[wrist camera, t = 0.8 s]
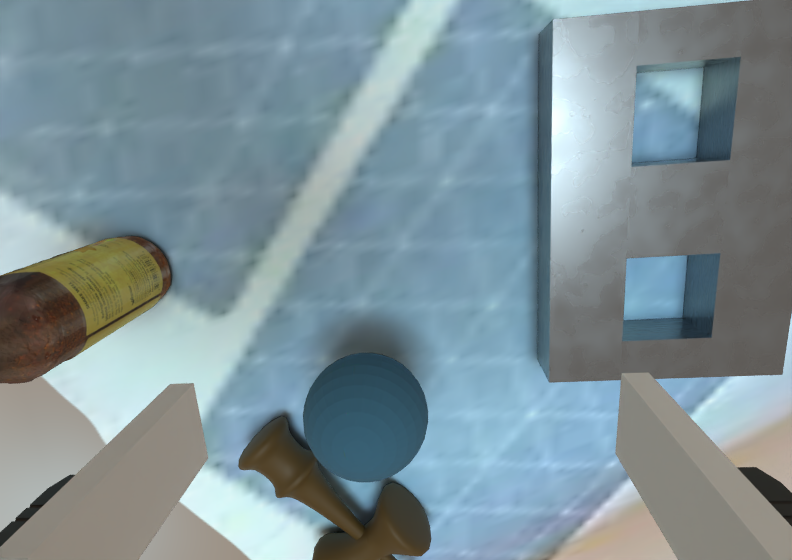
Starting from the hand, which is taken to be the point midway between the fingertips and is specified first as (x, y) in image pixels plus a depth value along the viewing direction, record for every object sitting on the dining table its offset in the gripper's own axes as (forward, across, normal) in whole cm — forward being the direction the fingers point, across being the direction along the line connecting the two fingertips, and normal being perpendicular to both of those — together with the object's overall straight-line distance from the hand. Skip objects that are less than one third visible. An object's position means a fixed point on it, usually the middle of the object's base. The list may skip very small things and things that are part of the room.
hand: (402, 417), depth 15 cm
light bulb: (+24, -4, -10) cm, 26 cm away
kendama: (+24, -8, -22) cm, 33 cm away
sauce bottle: (+24, -23, -1) cm, 33 cm away
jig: (+24, +17, +3) cm, 29 cm away
